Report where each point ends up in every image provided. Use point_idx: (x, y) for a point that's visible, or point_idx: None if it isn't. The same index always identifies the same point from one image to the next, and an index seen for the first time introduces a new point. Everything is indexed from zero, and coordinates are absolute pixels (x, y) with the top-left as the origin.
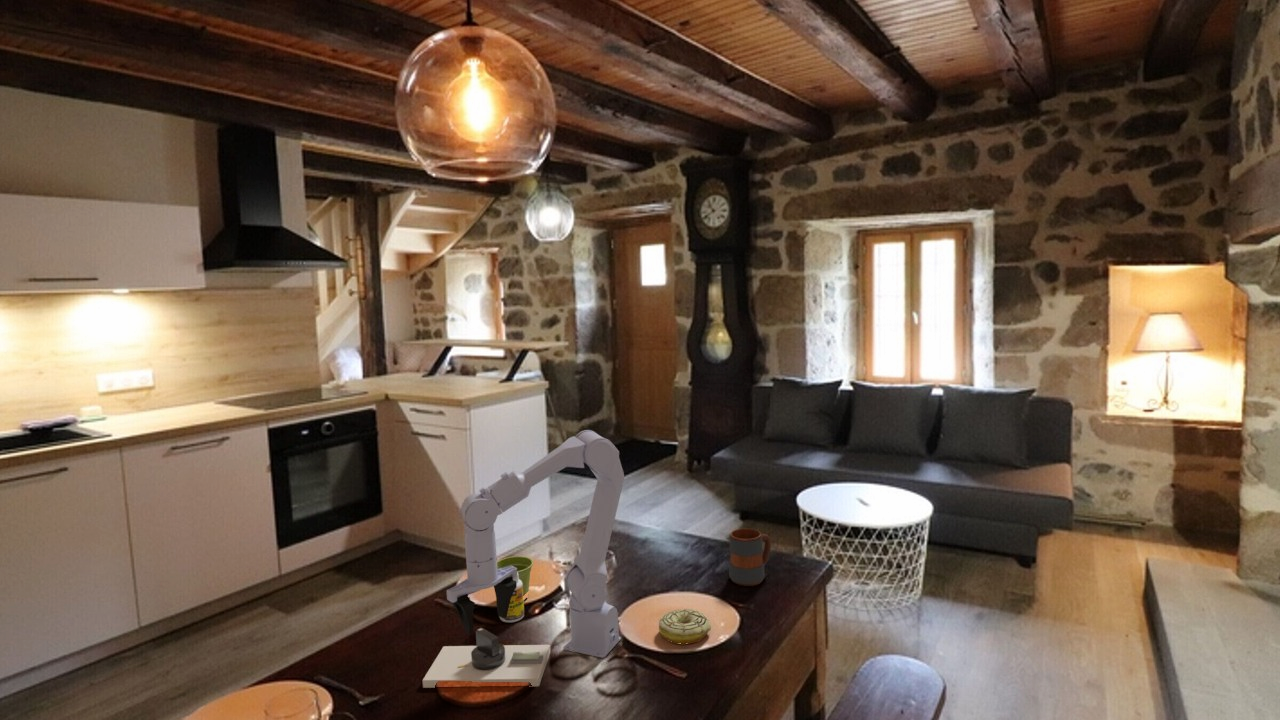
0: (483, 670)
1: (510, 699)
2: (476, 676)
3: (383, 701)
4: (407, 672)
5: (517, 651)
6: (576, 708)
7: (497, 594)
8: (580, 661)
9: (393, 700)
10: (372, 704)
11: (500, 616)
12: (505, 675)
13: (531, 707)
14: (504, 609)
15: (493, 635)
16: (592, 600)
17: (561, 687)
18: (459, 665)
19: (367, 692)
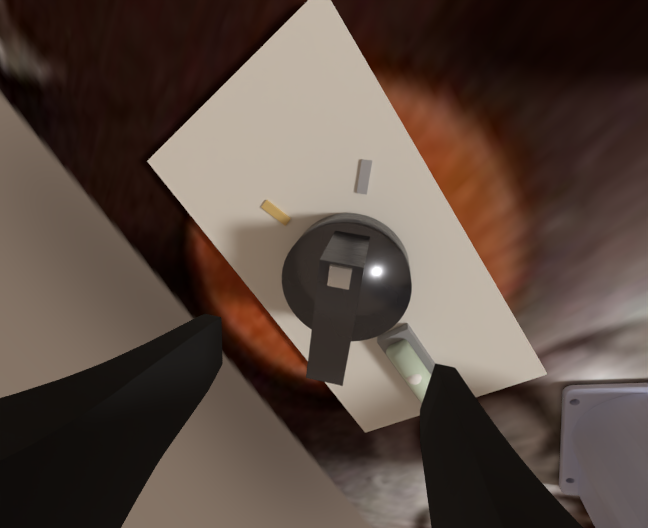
0: None
1: (291, 389)
2: (272, 293)
3: (56, 113)
4: (160, 6)
5: (453, 308)
6: (350, 499)
7: (478, 518)
8: (520, 445)
9: (80, 136)
10: (27, 97)
11: (429, 383)
12: None
13: (300, 435)
14: (426, 473)
15: (341, 359)
16: None
17: (392, 453)
18: (274, 197)
19: (21, 7)
